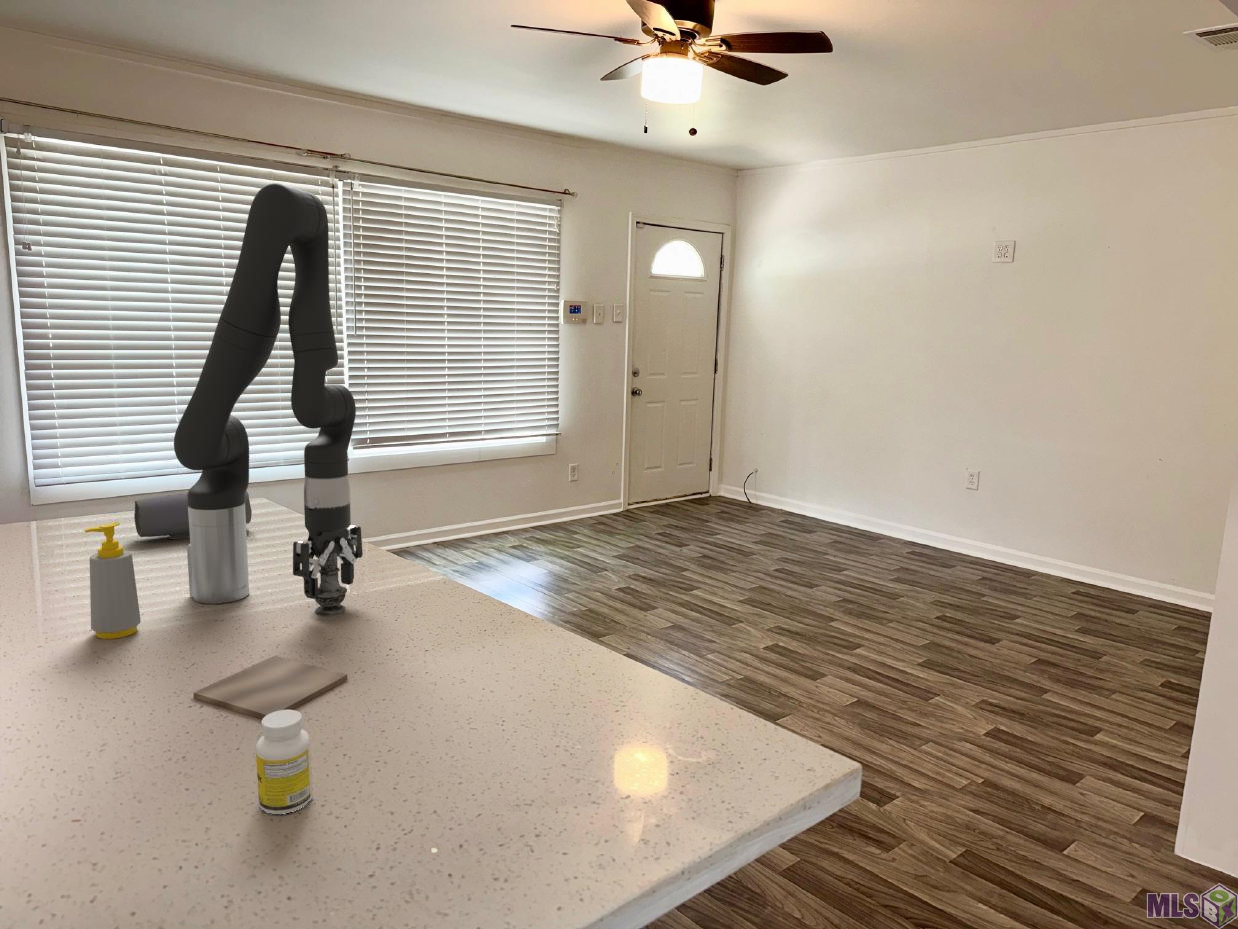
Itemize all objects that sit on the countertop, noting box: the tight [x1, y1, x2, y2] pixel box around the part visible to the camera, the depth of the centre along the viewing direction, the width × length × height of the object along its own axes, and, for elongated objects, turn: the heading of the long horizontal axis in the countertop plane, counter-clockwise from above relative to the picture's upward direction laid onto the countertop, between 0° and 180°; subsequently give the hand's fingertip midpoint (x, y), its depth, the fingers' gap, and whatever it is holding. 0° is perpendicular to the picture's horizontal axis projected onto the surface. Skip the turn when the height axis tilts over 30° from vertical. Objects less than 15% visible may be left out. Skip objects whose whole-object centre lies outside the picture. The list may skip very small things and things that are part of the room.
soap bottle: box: [84, 521, 142, 640], centre depth 129 cm, size 7×7×18 cm
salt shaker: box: [313, 553, 348, 617], centre depth 143 cm, size 6×6×12 cm
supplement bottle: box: [255, 709, 314, 815], centre depth 87 cm, size 5×5×10 cm
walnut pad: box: [193, 655, 349, 720], centre depth 114 cm, size 14×14×1 cm
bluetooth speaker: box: [133, 490, 253, 540], centre depth 187 cm, size 23×9×10 cm, turn 130°
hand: (330, 590), depth 143 cm, fingers open, 8 cm apart
